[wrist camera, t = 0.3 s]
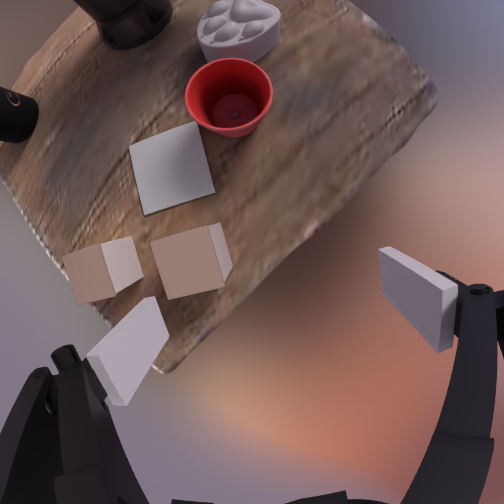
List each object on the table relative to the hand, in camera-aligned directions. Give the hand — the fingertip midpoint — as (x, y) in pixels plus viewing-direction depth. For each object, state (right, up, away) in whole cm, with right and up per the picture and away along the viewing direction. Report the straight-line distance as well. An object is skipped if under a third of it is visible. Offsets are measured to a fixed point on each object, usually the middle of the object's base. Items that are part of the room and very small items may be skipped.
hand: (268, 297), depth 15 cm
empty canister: (-8, +3, +27) cm, 29 cm away
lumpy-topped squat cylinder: (-3, +38, +22) cm, 44 cm away
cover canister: (-23, +1, +28) cm, 37 cm away
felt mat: (-14, +16, +26) cm, 33 cm away
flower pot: (-3, +23, +24) cm, 34 cm away
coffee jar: (-51, +32, +25) cm, 65 cm away
